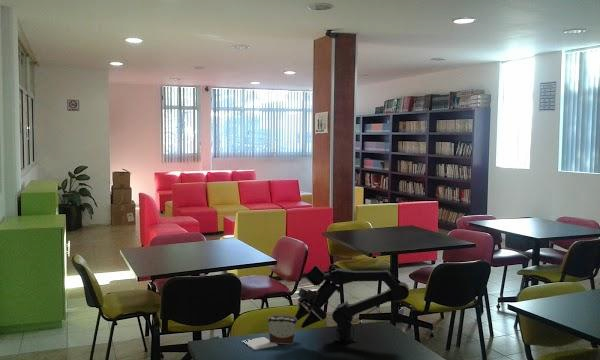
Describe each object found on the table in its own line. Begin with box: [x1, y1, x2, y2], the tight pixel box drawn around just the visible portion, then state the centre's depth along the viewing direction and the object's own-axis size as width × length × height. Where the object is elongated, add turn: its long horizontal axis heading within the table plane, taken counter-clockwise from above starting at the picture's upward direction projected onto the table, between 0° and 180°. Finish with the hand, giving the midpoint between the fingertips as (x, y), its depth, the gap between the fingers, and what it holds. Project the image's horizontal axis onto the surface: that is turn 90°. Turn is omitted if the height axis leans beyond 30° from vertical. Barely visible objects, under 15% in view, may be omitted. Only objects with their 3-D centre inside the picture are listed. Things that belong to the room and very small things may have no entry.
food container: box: [266, 314, 299, 345], centre depth 215 cm, size 12×6×10 cm, turn 84°
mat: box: [241, 336, 279, 351], centre depth 213 cm, size 10×12×1 cm
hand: (297, 324), depth 212 cm, fingers open, 9 cm apart
